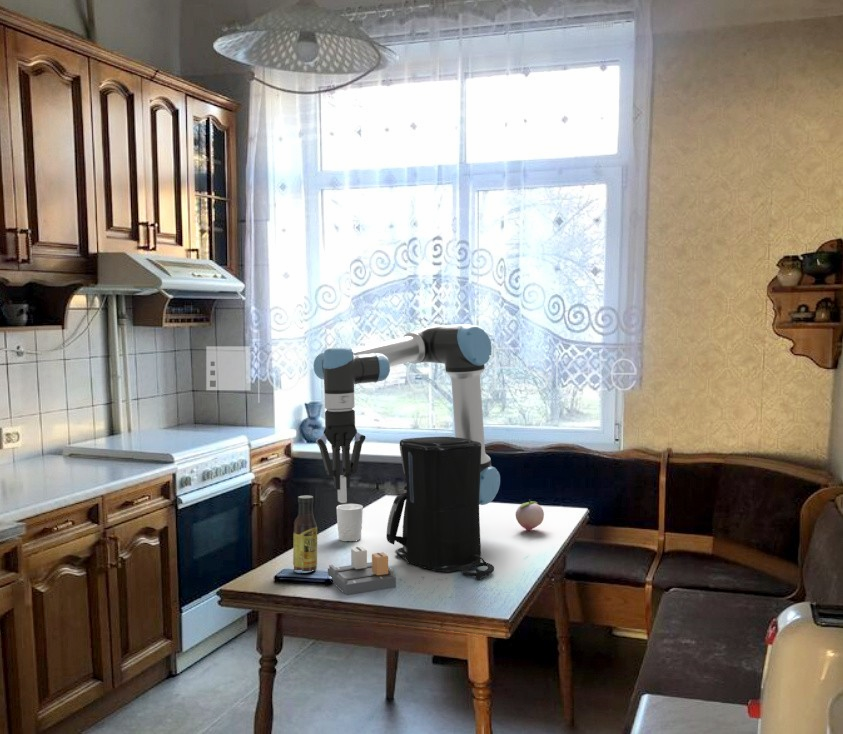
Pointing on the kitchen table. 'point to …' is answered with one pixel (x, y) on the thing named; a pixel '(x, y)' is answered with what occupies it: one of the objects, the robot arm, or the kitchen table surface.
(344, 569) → the panel
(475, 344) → the robot arm
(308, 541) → the sauce bottle
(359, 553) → the white fader
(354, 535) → the white cup
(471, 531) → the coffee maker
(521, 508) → the decorative fruit
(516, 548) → the kitchen table surface
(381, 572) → the orange fader
